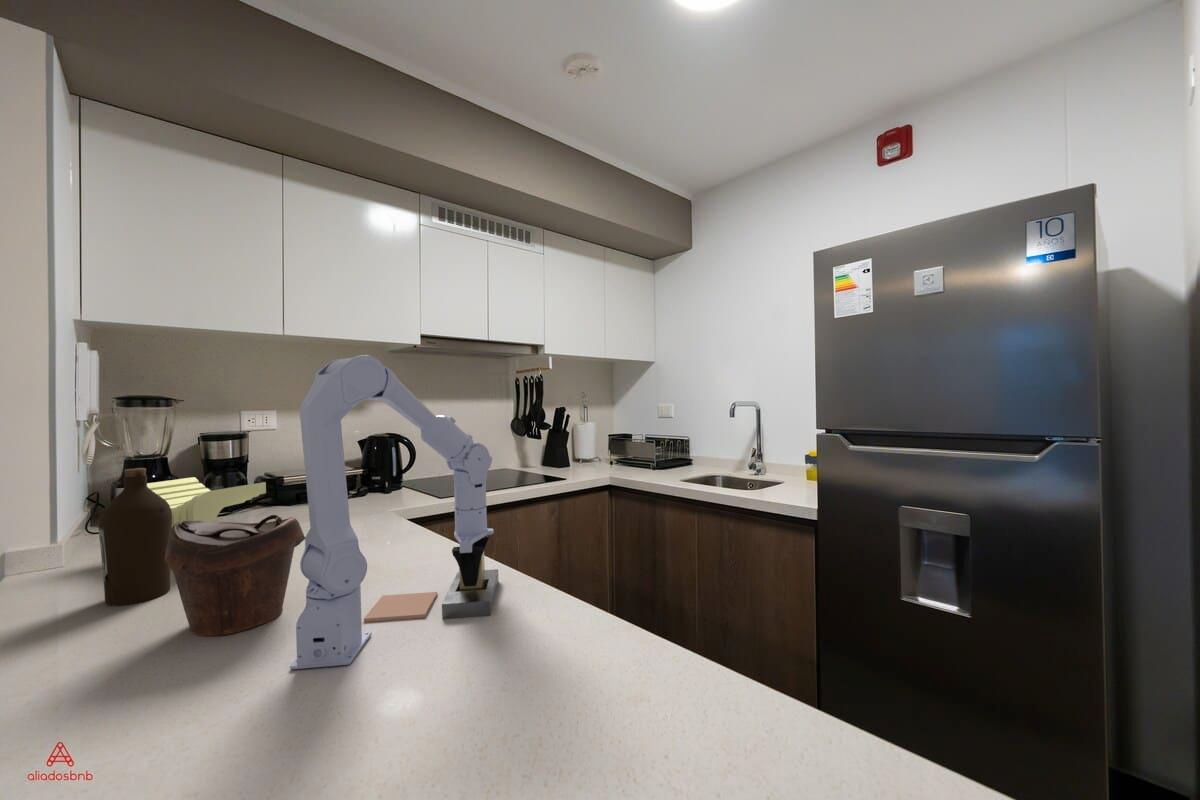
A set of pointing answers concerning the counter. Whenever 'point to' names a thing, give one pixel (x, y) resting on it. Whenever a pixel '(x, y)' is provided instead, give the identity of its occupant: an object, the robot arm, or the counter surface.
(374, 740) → the counter surface
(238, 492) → the slatted curved stool
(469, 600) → the grey slotted block
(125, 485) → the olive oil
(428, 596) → the terracotta tile
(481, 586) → the brass bar
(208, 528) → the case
